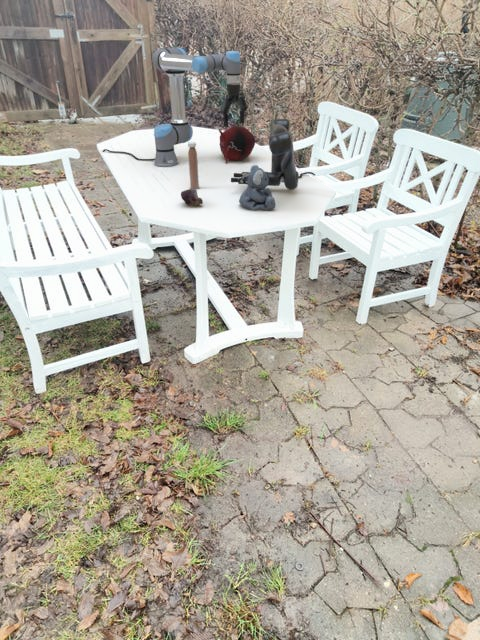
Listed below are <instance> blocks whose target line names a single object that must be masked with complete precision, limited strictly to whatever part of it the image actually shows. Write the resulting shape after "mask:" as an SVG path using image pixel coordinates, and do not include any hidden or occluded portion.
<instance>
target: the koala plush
mask: <svg viewBox="0 0 480 640" xmlns="http://www.w3.org/2000/svg"><path fill="white" fill-rule="evenodd" d="M249 172H250V173H249V175H248V184H247V188H246V189H245V190H244V191H243V192H242V193H241V194H240V197H239V199H238V203H239V204H240V206H241V207H242V208H246V209H247V210H252V211H255V210H261V211H272V210H274V209H275V208H276V200H275V198H274V196H273V194H272V191H271V188H270V187H268V186H267V185H268V184H269V183H270V179H269V178H268V177H267V174H266V173H265V172H266V171H265V170H264V169H263V168H261V167H259V165H257V164H253V165H250V170H249Z"/></svg>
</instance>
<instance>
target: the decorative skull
mask: <svg viewBox="0 0 480 640" xmlns="http://www.w3.org/2000/svg"><path fill="white" fill-rule="evenodd" d="M218 133H219V134H220V135H219V149H220V152H221V154H222V157H223V158H224V159H225V164H227V163H228V160H229V161H242V160H245V159H247V158H248V157H249V156H250V155H251V154H252V152H253V150H254V148H255V145H256V137H255V135H254V134H253V133H252V132H251V131H250V130H249V129H247V128H246V127H244V126H241V125H235V126H231V127H228V128H227V129H226V130H224V131H222V130H221V128H218Z"/></svg>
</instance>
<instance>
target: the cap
mask: <svg viewBox="0 0 480 640" xmlns="http://www.w3.org/2000/svg"><path fill="white" fill-rule="evenodd" d="M196 146H197V142H195V141H188V142H187V147H188V148H189V147H195V148H196Z"/></svg>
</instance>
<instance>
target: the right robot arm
mask: <svg viewBox="0 0 480 640" xmlns="http://www.w3.org/2000/svg"><path fill="white" fill-rule="evenodd" d="M290 129H291V123H290V120H289V118H274V119H272V120H271V121H270V124H269V132H270V133H269V139H268V147H269V151H270V153H271V162H270V163H271V164H270V165H271V167H270V171H264V172H265V173H266V174H267V177H268V178H269V179H270V183H269V184H268V185H267V187H269V186H270V187H279V186H280V185H281V183H284V184H283V185H284V187H285V188H286V189H287V190H288V191H295V190H296V189H297V188H298V186H299V179H301V178H303V175H312V176H314V177H315V176H316V174H315V173H314V172H313V171H306V172H301V173H300V174H299V172H298V171H297V167H296V164H295V151H294V142H293V138H292V135H291V133H290ZM249 173H250V171H242V172H234V173H233V177H231V178H230V182H231V183H238V185H248V175H249Z"/></svg>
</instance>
